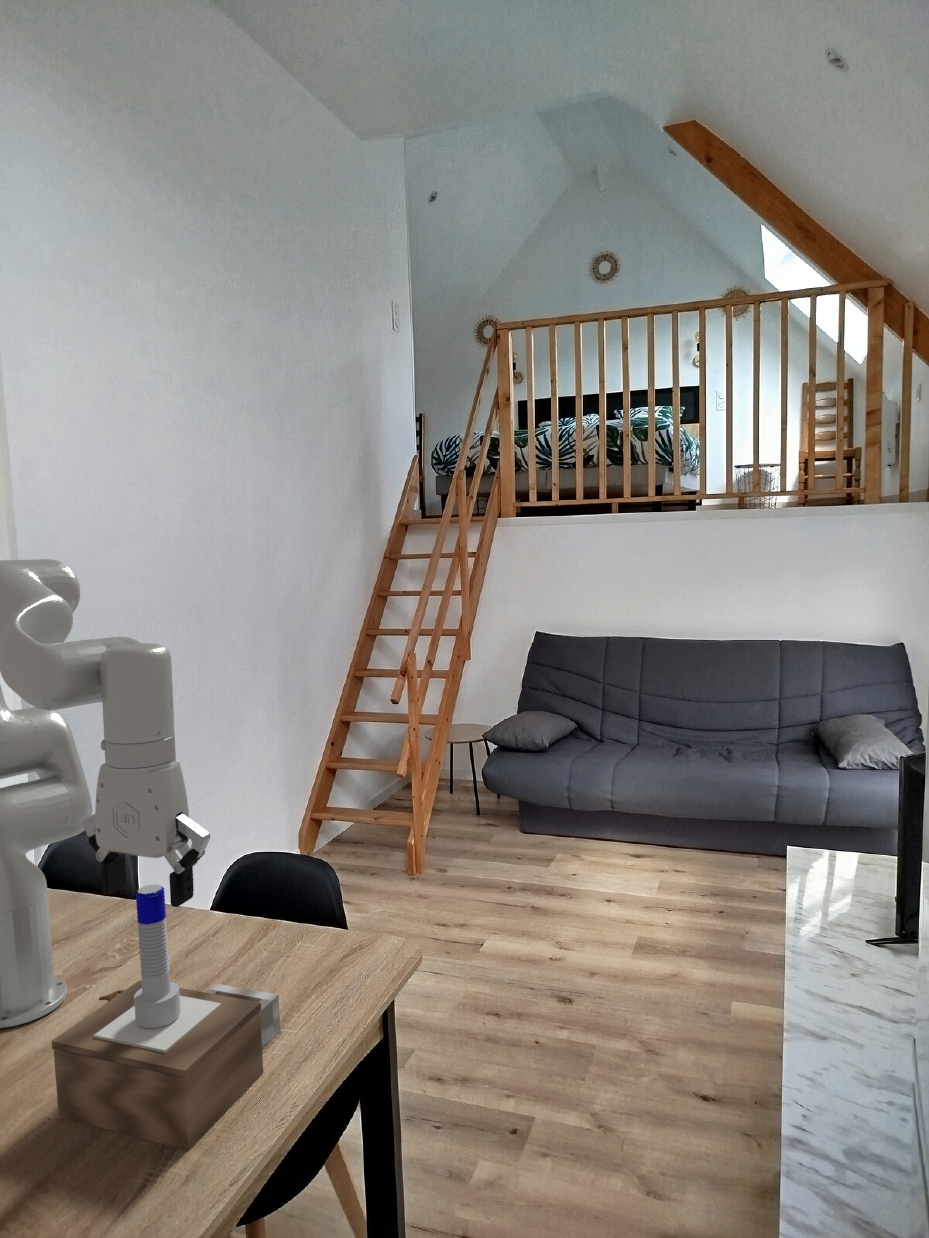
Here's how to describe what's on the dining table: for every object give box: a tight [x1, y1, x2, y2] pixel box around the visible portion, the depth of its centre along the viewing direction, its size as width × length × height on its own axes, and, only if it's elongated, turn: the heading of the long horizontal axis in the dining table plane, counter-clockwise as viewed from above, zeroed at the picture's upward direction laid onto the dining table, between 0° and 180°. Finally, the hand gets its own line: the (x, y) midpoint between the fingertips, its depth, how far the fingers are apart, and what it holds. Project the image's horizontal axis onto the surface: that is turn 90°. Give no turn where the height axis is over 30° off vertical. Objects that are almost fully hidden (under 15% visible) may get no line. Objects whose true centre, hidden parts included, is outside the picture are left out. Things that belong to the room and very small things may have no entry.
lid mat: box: [94, 996, 222, 1053], centre depth 99 cm, size 10×10×1 cm
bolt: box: [134, 884, 181, 1029], centre depth 98 cm, size 16×5×5 cm
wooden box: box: [51, 980, 281, 1151], centre depth 103 cm, size 18×22×9 cm
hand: (148, 896), depth 98 cm, fingers open, 9 cm apart
